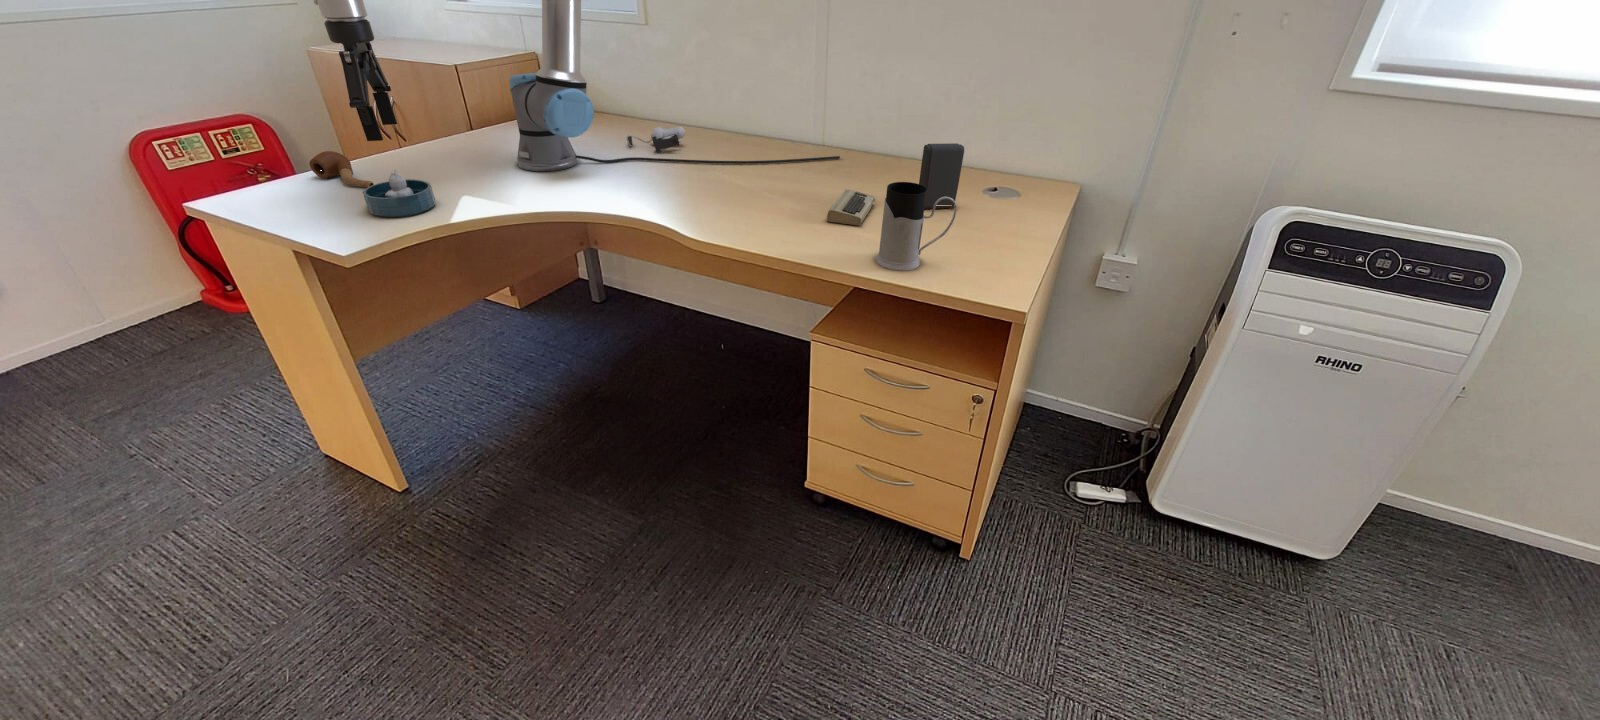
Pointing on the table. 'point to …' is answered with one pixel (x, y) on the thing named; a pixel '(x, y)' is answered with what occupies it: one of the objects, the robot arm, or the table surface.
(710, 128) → the table surface
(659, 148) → the clip-on lamp
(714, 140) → the table surface
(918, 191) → the glass holder
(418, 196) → the bowl
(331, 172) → the pipe
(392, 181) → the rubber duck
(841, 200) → the computer
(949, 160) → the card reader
